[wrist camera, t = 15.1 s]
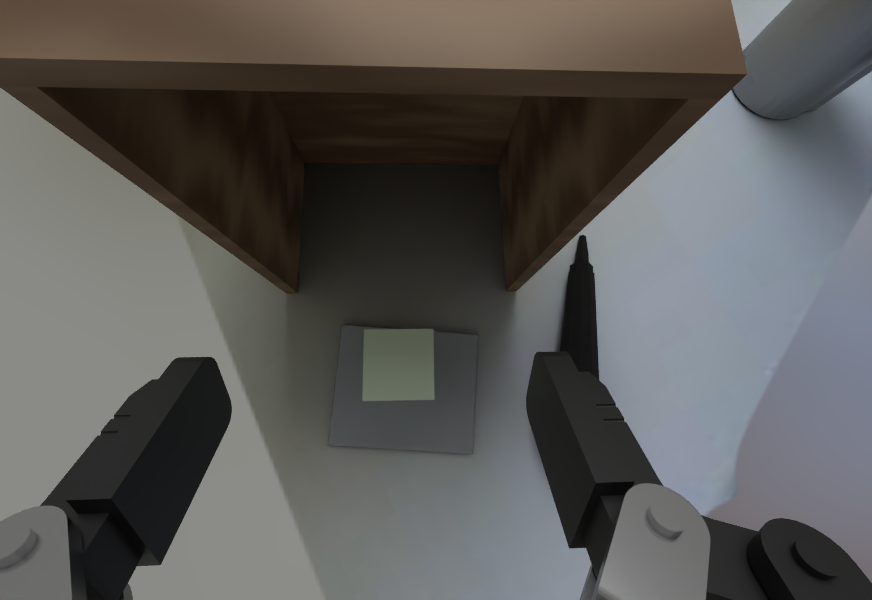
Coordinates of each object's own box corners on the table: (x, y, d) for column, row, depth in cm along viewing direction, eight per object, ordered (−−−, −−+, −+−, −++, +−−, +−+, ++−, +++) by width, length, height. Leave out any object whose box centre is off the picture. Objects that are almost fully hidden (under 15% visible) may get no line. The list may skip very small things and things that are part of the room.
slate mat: (476, 335, 35) (477, 334, 35) (471, 453, 33) (472, 454, 33) (343, 326, 35) (341, 324, 34) (329, 444, 33) (327, 445, 32)
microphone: (551, 250, 41) (538, 453, 34) (554, 220, 36) (539, 451, 29) (608, 252, 40) (606, 464, 33) (619, 220, 34) (619, 465, 28)
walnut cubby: (294, 153, 38) (58, -302, 13) (507, 155, 39) (673, -259, 14) (286, 293, 35) (-42, 56, 10) (516, 290, 36) (747, 74, 11)
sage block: (428, 343, 34) (433, 328, 26) (429, 396, 33) (434, 399, 25) (377, 343, 34) (364, 329, 25) (376, 397, 33) (362, 401, 24)
